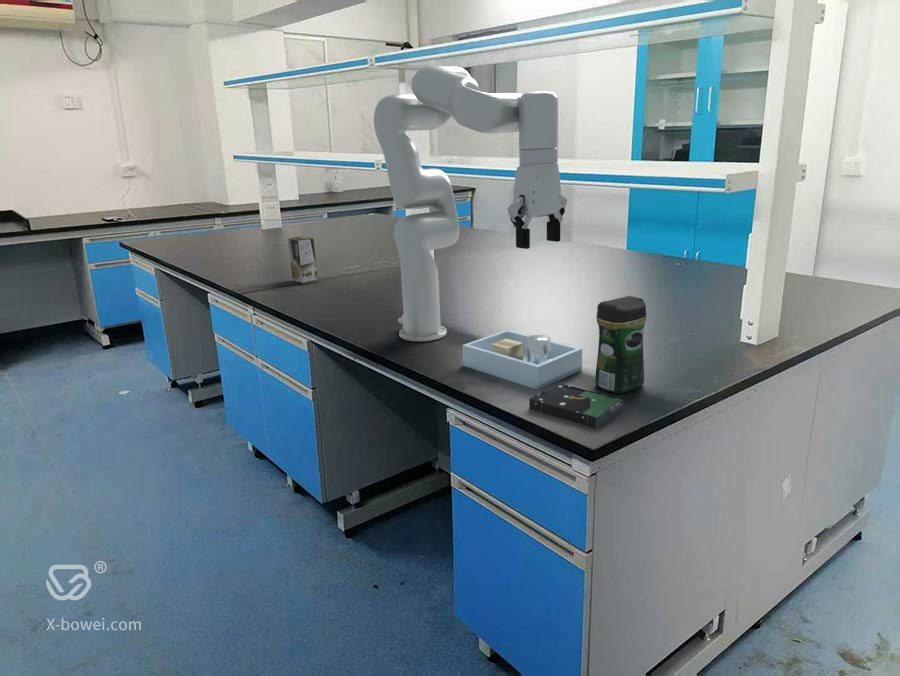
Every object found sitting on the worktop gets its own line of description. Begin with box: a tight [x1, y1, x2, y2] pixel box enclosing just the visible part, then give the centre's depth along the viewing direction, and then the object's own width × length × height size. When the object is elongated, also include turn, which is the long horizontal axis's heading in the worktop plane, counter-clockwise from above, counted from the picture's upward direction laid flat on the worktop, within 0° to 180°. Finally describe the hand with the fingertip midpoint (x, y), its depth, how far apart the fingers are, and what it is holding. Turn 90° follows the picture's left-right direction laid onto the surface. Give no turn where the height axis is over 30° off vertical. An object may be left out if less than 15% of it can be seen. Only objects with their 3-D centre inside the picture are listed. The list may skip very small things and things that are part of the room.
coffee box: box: [287, 235, 319, 282], centre depth 240 cm, size 9×6×16 cm
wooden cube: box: [491, 339, 523, 360], centre depth 145 cm, size 5×5×5 cm
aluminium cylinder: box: [527, 334, 551, 365], centre depth 142 cm, size 5×5×7 cm
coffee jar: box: [594, 295, 647, 394], centre depth 132 cm, size 10×8×19 cm
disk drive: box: [528, 382, 625, 430], centre depth 124 cm, size 10×3×15 cm
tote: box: [461, 329, 583, 391], centre depth 146 cm, size 22×15×5 cm
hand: (538, 244), depth 134 cm, fingers open, 9 cm apart
